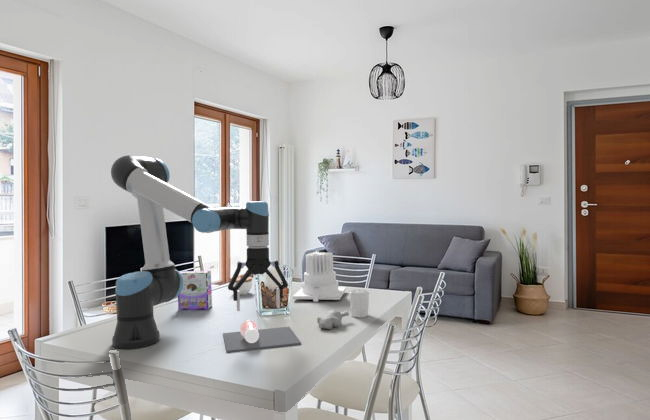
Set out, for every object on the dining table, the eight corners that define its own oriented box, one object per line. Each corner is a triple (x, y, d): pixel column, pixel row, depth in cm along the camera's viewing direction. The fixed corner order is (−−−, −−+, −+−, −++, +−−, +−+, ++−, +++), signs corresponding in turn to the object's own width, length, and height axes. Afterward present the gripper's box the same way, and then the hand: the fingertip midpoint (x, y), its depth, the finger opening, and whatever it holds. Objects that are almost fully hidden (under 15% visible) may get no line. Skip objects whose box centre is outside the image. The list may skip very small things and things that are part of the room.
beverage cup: (244, 347, 153) (240, 335, 166) (263, 342, 154) (257, 330, 168) (240, 329, 152) (236, 318, 166) (259, 324, 154) (253, 314, 167)
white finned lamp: (339, 303, 212) (337, 256, 212) (292, 302, 216) (290, 256, 216) (346, 291, 237) (345, 249, 236) (304, 291, 241) (302, 249, 240)
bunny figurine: (311, 318, 172) (329, 304, 185) (312, 331, 173) (330, 317, 186) (334, 321, 168) (351, 306, 181) (336, 334, 169) (352, 319, 182)
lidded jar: (257, 292, 240) (256, 274, 240) (242, 296, 231) (242, 277, 231) (241, 290, 246) (240, 272, 245) (226, 294, 237) (226, 276, 236)
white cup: (368, 312, 194) (367, 288, 194) (370, 317, 186) (370, 292, 186) (349, 313, 194) (348, 289, 193) (350, 318, 186) (350, 293, 185)
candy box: (212, 306, 211) (211, 270, 211) (208, 310, 206) (207, 272, 205) (183, 306, 213) (181, 270, 212) (177, 310, 207) (176, 272, 206)
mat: (301, 344, 155) (301, 342, 155) (226, 352, 149) (226, 350, 149) (289, 328, 174) (289, 326, 174) (223, 334, 168) (222, 333, 168)
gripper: (220, 249, 154) (221, 314, 154) (296, 246, 160) (296, 308, 161) (219, 246, 161) (220, 308, 162) (291, 244, 167) (292, 303, 168)
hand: (258, 308), depth 161 cm, fingers open, 13 cm apart
